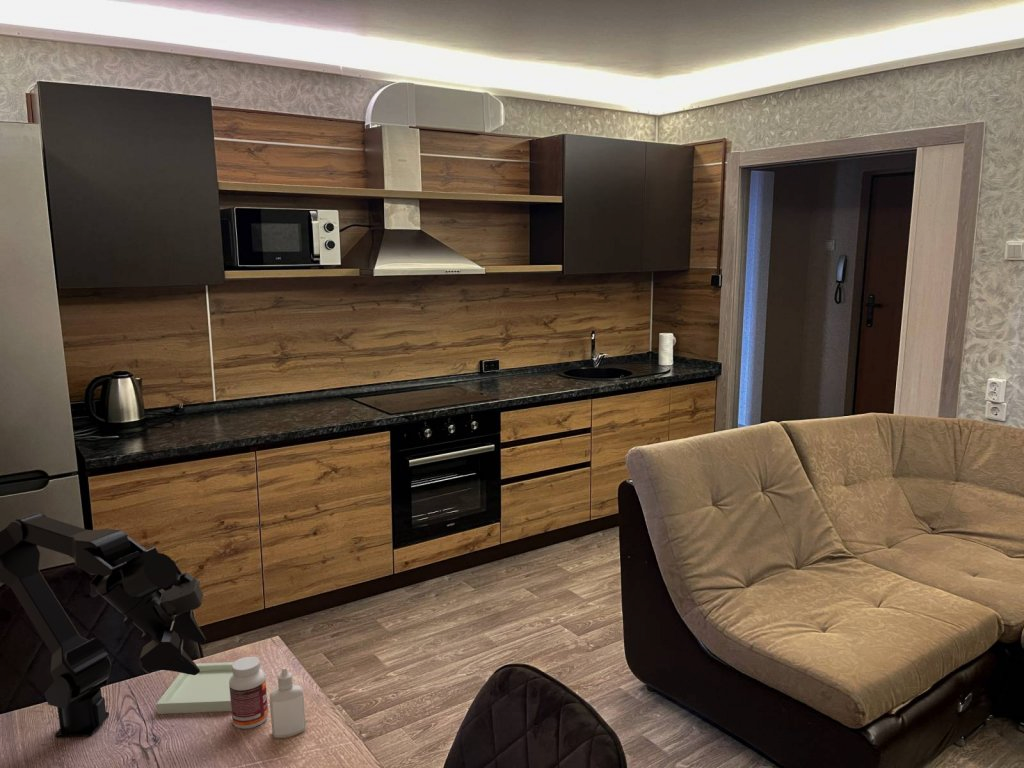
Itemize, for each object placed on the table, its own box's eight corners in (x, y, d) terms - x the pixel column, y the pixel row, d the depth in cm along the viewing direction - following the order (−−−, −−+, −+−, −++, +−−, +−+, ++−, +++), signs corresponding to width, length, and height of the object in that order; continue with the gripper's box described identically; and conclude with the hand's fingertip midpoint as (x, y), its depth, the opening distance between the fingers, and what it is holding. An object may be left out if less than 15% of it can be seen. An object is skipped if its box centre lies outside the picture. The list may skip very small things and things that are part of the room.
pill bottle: (272, 722, 134) (268, 665, 132) (237, 734, 131) (232, 676, 129) (263, 705, 139) (258, 650, 137) (228, 717, 136) (223, 661, 134)
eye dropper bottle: (300, 740, 129) (295, 675, 127) (268, 738, 129) (263, 674, 127) (309, 724, 133) (304, 662, 131) (279, 723, 134) (274, 661, 132)
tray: (157, 713, 137) (156, 703, 137) (188, 673, 151) (187, 663, 151) (234, 710, 138) (233, 700, 137) (257, 670, 152) (256, 661, 151)
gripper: (165, 598, 117) (234, 659, 123) (182, 544, 135) (241, 600, 140) (107, 643, 117) (179, 702, 122) (132, 583, 134) (193, 638, 140)
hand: (201, 657), depth 131 cm, fingers open, 9 cm apart
